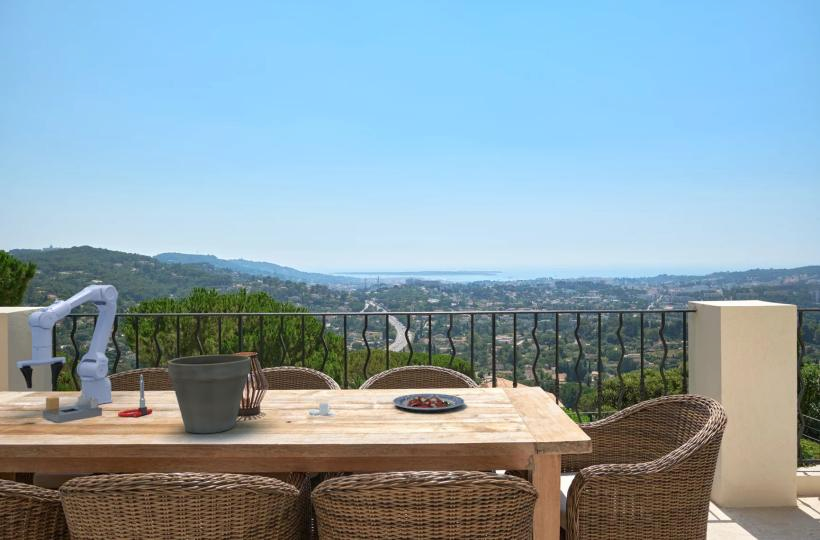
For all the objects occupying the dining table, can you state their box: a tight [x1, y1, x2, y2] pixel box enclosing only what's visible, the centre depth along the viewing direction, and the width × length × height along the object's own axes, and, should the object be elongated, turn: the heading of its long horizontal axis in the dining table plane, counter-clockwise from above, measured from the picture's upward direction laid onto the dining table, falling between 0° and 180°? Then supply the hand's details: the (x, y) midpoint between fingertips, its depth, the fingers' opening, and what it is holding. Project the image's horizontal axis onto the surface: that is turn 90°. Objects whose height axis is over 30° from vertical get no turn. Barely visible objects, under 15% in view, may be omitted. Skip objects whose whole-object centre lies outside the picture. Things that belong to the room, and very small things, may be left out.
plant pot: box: [167, 354, 252, 434], centre depth 195 cm, size 25×25×22 cm
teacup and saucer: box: [308, 402, 336, 418], centre depth 213 cm, size 9×8×4 cm
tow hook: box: [117, 374, 153, 418], centre depth 214 cm, size 9×14×10 cm
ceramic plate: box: [392, 393, 465, 412], centre depth 225 cm, size 26×26×3 cm
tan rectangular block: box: [45, 395, 60, 410], centre depth 214 cm, size 3×3×6 cm
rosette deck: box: [42, 394, 103, 424], centre depth 211 cm, size 14×12×6 cm
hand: (41, 386), depth 214 cm, fingers open, 7 cm apart
